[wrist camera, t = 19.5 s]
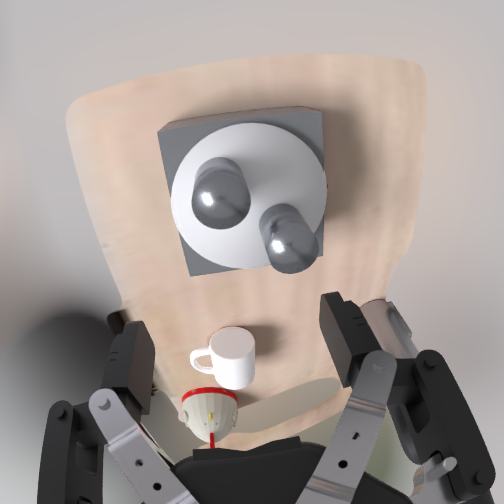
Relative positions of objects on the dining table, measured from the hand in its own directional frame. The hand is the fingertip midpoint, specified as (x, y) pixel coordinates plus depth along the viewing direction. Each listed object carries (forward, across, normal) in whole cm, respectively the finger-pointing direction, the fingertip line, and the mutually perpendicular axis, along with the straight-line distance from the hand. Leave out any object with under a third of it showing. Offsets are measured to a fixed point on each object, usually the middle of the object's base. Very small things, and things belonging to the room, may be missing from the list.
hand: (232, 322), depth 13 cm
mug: (+29, +5, +35) cm, 46 cm away
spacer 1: (+20, 0, 0) cm, 20 cm away
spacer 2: (+20, -6, +6) cm, 22 cm away
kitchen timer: (+29, +12, +57) cm, 65 cm away
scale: (+29, -3, +3) cm, 29 cm away
